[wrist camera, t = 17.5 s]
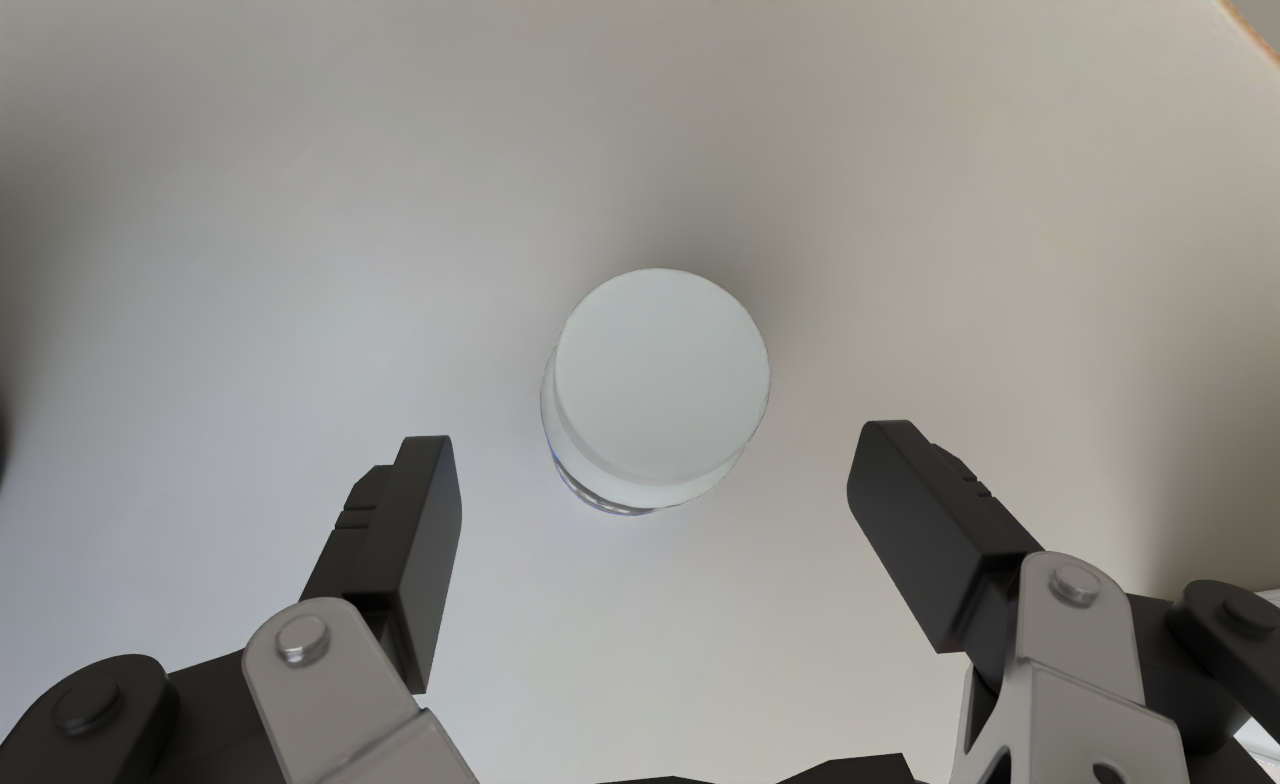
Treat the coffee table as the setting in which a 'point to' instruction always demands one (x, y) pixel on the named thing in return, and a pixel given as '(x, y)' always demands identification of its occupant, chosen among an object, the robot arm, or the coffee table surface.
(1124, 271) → the coffee table surface
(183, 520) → the coffee table surface
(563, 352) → the pill bottle
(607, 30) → the coffee table surface
